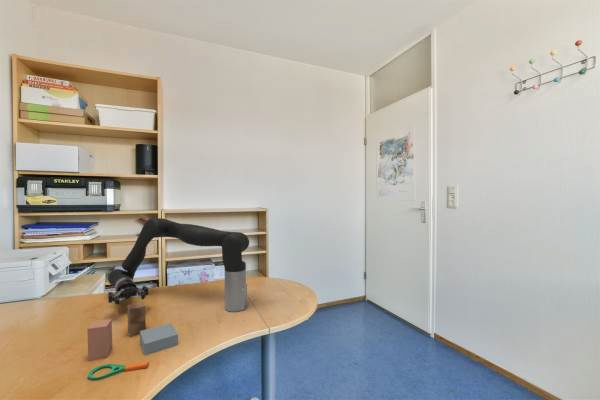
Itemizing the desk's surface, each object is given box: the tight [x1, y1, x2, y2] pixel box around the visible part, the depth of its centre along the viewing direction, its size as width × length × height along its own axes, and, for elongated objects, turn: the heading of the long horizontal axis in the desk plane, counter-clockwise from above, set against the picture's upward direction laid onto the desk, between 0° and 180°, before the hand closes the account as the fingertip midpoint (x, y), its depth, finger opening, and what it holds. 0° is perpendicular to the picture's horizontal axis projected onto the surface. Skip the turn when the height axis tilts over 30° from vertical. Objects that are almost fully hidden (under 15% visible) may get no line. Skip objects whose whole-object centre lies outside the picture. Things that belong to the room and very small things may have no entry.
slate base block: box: [139, 322, 179, 356], centre depth 95 cm, size 10×10×4 cm
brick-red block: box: [86, 318, 113, 362], centre depth 88 cm, size 5×5×10 cm
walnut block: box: [127, 301, 147, 338], centre depth 102 cm, size 5×5×10 cm
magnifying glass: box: [87, 360, 150, 382], centre depth 80 cm, size 15×6×2 cm, turn 106°
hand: (131, 299), depth 111 cm, fingers open, 8 cm apart
